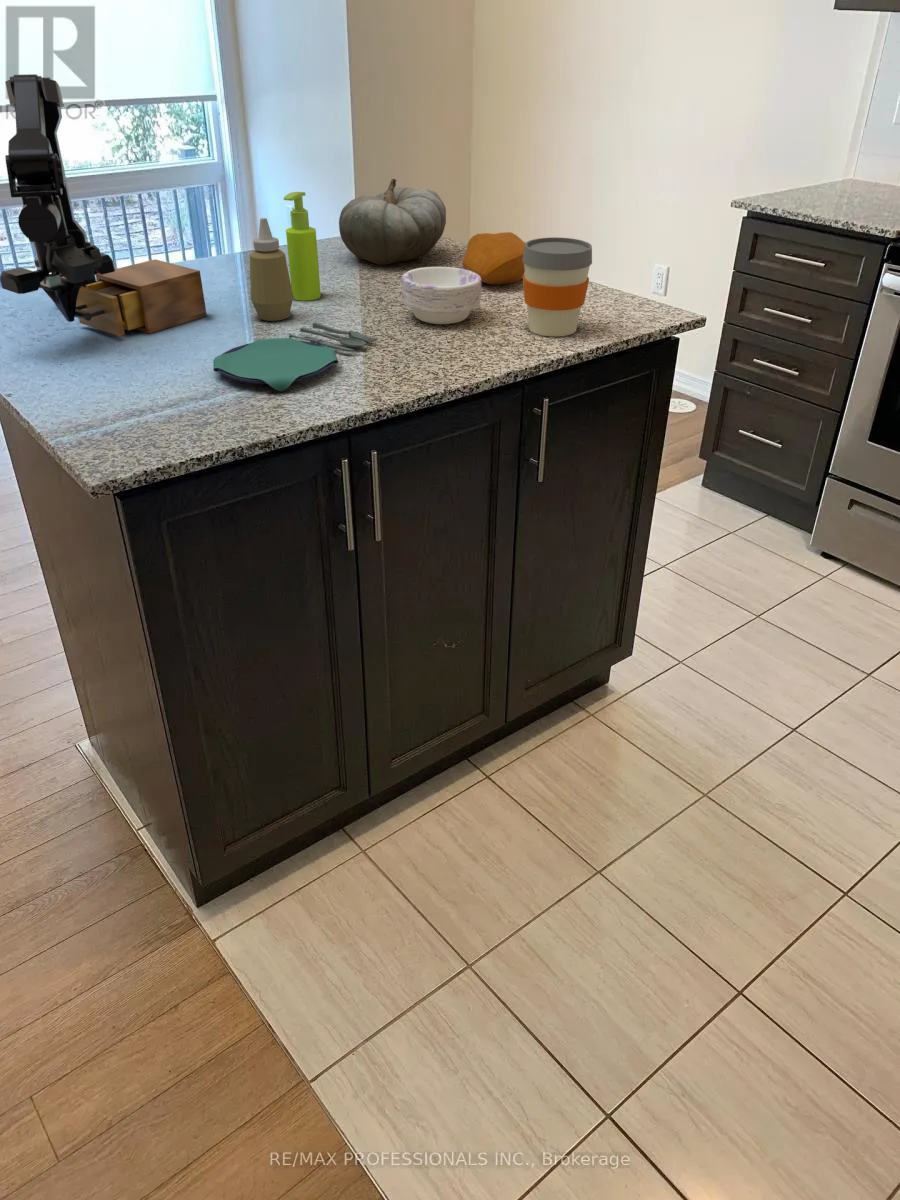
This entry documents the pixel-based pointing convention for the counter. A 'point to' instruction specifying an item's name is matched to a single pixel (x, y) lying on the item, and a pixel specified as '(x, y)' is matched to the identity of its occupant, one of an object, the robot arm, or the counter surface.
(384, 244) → the gourd
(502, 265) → the bread
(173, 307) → the cabinet
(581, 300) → the reusable coffee cup
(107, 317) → the drawer
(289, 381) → the cutlery set
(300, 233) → the soap dispenser
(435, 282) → the paper bowls
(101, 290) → the block
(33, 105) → the robot arm
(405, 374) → the counter surface
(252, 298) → the squeeze bottle
